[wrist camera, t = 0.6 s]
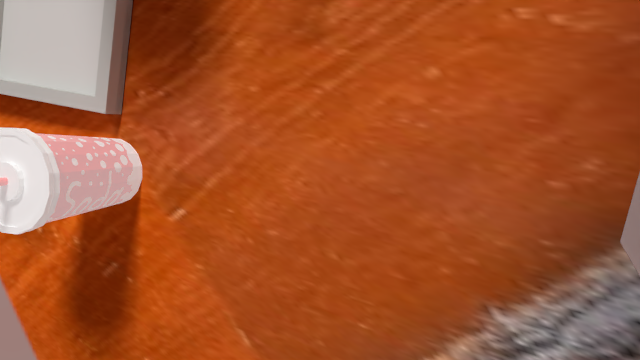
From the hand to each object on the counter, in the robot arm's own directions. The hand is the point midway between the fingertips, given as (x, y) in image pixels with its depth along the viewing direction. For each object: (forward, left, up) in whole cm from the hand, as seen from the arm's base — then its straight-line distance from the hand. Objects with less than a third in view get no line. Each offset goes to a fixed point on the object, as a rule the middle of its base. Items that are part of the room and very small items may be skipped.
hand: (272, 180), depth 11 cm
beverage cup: (+6, -24, -25) cm, 35 cm away
